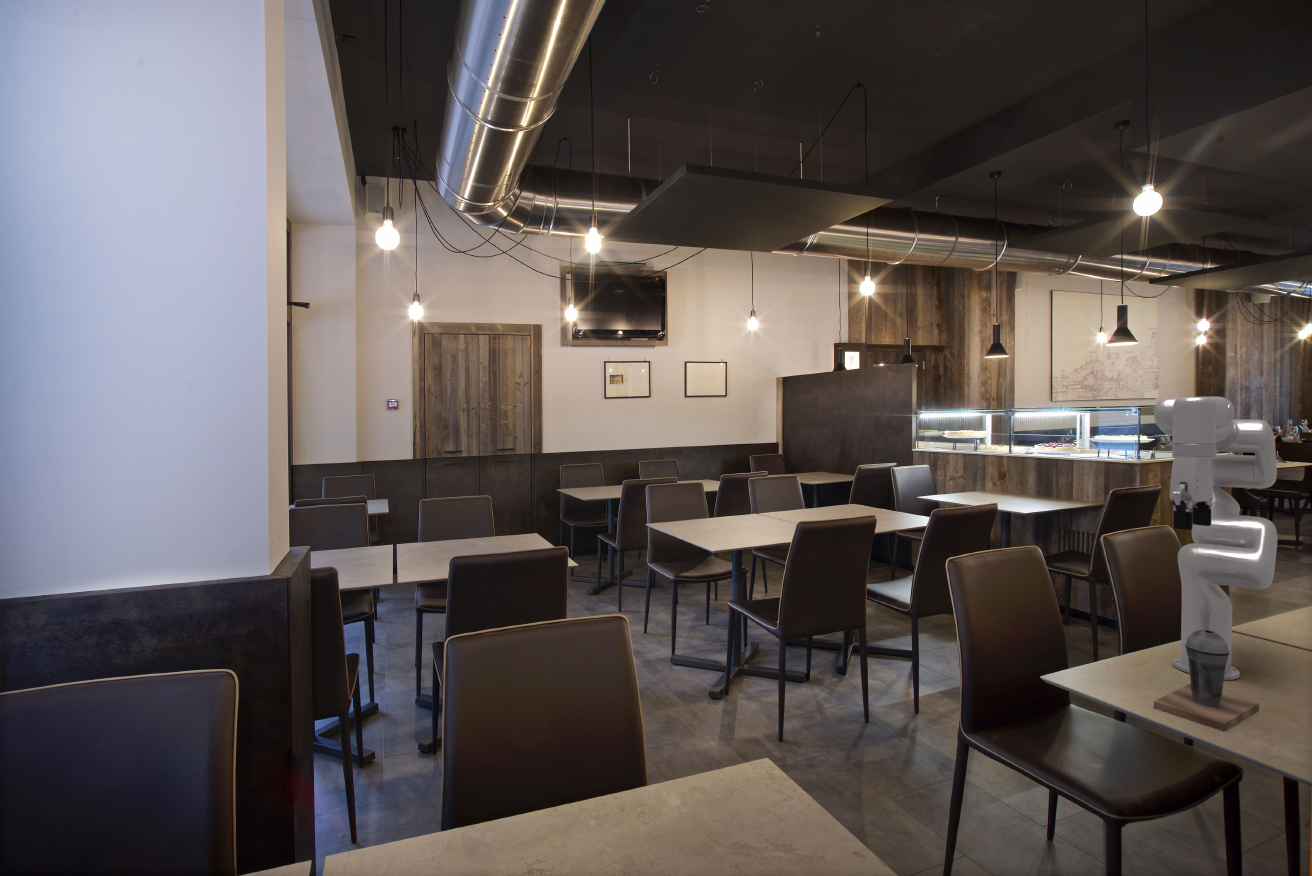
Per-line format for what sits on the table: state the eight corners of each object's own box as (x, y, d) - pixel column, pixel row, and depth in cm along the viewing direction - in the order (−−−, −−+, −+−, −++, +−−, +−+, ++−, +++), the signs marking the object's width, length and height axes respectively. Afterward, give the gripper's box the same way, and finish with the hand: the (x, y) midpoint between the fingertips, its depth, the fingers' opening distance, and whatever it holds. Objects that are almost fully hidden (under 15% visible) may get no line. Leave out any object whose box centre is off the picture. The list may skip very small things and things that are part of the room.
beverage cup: (1237, 711, 133) (1239, 616, 132) (1197, 708, 134) (1198, 614, 134) (1214, 696, 140) (1216, 606, 139) (1176, 693, 141) (1178, 604, 141)
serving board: (1190, 689, 147) (1190, 683, 147) (1258, 710, 136) (1258, 703, 136) (1153, 708, 138) (1153, 701, 137) (1224, 731, 127) (1224, 723, 127)
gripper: (1190, 450, 150) (1189, 521, 151) (1156, 452, 142) (1155, 528, 142) (1230, 451, 144) (1229, 526, 144) (1197, 453, 135) (1196, 533, 136)
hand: (1192, 527), depth 143 cm, fingers open, 9 cm apart
